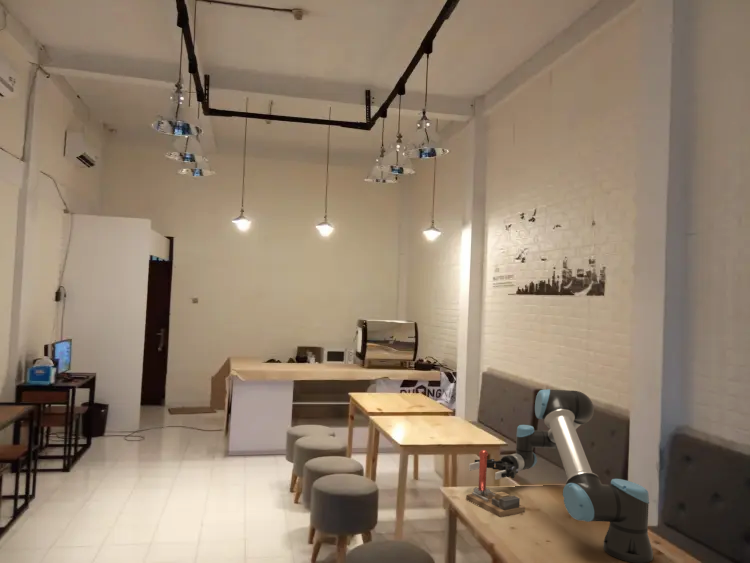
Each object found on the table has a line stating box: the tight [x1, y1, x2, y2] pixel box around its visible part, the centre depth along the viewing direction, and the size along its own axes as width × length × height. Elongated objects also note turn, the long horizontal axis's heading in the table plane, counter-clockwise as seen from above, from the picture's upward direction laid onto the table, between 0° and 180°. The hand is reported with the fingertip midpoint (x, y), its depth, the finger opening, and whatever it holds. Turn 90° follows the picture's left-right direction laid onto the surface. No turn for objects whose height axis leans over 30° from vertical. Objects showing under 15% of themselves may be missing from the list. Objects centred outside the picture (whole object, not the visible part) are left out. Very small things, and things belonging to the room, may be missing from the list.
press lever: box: [473, 449, 493, 498], centre depth 227 cm, size 7×5×18 cm
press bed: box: [465, 490, 526, 518], centre depth 221 cm, size 20×13×6 cm, turn 31°
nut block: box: [494, 491, 511, 500], centre depth 218 cm, size 4×4×4 cm
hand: (482, 471), depth 228 cm, fingers open, 13 cm apart
